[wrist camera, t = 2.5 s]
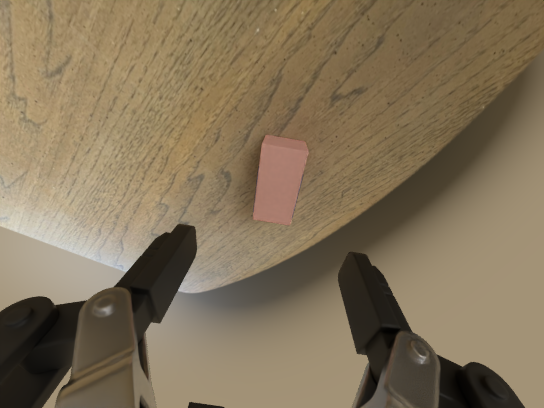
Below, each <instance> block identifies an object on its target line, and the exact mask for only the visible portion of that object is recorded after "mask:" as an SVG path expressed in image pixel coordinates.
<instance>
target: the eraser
mask: <svg viewBox="0 0 544 408" xmlns="http://www.w3.org/2000/svg"><path fill="white" fill-rule="evenodd" d="M308 153H309V151H308V148H307V145H306V142H305V141H300V140H294V139H289V138H283V137H277V136H271V135H266V136H265V138H264V140H263V142H262V146H261V154H260V162H259V167H258V174H257V182H256V191H255V199H254V208H253V220H259V221H265V222H271V223H277V224H283V225H290V224H291V220H292V217H293V214H294V210H295V206H296V202H297V198H298V194H299V190H300V186H301V182H302V178H303V172H304V169H305V165H306V161H307V157H308Z"/></svg>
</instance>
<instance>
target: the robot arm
mask: <svg viewBox="0 0 544 408" xmlns="http://www.w3.org/2000/svg"><path fill="white" fill-rule="evenodd" d="M196 252H197V242H196V229H195V227H194V226H190V225H184V224H178V225H177V226H176V227H175V228H174V230H173V231H172V232H171V233H167V232H165V233H164V234H162V235H161V236H159V237H157V238H156V239H155V240H154V241H153V242H152V243H151V244H150V246H149V247H148V249H146V250H145V251H144V253H143V254H142V256H140V257H139V258H138V260H137V261H136V262H135V263H134V264H133V265H132V267H131V268H130V269H129V270H128V271H127V273H126V274H125V275H124V276H123V277H122V278H121V280H120V281H119V282H118V283H117V284H116V285H115V286H114V287H113V288H108V289H105V290H102V291H100V292H98V293H97V294H95V295H93V296H92V297H91V298H90V299H88V300H86V301H80V302H73V303H67V304H60V305H54V303H52V301H51V300H50V299H49V298H47V297H40V296H38V297H32V298H27V299H24V300H21V301H19V302H17V303H14V304H12V305H10V306H9V307H7V308H5V309H4V310H2V311H1V312H0V408H42V407H43V406H44V404H45V403H46V401H47V400H48V399H49V397H50V396H51V394H52V393H53V392H54V390H55V389H56V387H57V386H58V385H59V383H60V382H61V380H62V379H63V377H64V376H65V375H66V373H67V372H68V370H69V369H70V368H71V366H72V369H71V376H70V380H69V382H68V384H66V385H64V386H63V387H62V388H61V390H60V392H59V394H58V396H57V400H56V404H55V408H156V401H155V396H154V392H153V388H152V382H151V375H150V367H149V358H148V350H147V342H146V333H145V332H146V330H147V328H148V326H149V325H150V323H151V322H153V323H160V322H161V321H162V319H163V317H164V315H165V313H166V311H167V310H168V308H169V306H170V304H171V302H172V300H173V298H174V296H175V294H176V293H177V291H178V289H179V287H180V285H181V283H182V281H183V279H184V278H185V276H186V274H187V272H188V270H189V268H190V266H191V264H192V263H193V261H194V259H195V256H196ZM338 282H339V287H340V290H341V294H342V298H343V301H344V306H345V309H346V314H347V317H348V321H349V325H350V329H351V333H352V336H353V340H354V344H355V348H356V352H357V354H362V355H367V357H368V360H369V363H368V364H367V366H366V368H365V371H364V374H363V377H362V380H361V383H360V385H359V388H358V392H357V394H356V397H355V400H354V403H353V406H352V408H525V407H524V406H523V404H522V403H521V401H520V400H519V399H518V397H517V396H516V394H515V393H514V391H513V390H512V389H511V388H510V386H509V385H508V384H507V383H506V382H505V381H504V380H503V379H502V378H501V377H500V376H499V375H498V374H496V373H495V372H494V371H492V370H491V369H489V368H488V367H486V366H484V365H482V364H480V363H476V362H470V363H468V364H467V365H465V366H463V367H462V366H460V365H458V364H456V363H454V362H451V361H449V360H447V359H445V358H443V357H441V356H439V355H437V354H436V353H435V352H434V350H433V349H432V348H431V346H430V345H429V344H428V343H427V342H426V341H425V340H424V339H423V338H421V337H420V336H418V335H417V334H415V333H413V332H412V330H411V329H410V327H409V325H408V323H407V321H406V319H405V317H404V315H403V313H402V311H401V309H400V307H399V305H398V303H397V301H396V299H395V297H394V296H393V293H392V291H391V289H390V287H388V283H387V281H386V279H385V278H384V275H383V274H382V273H381V272H380V271H379V270H378V269H377V268H376V267H375V266H372V265H371V263H370V261H369V259H368V257H367V255H366V254H362V253H355V252H349V253H348V255H347V256H346V259H345V260H344V262H343V264H342V267H341V268H340V270H339V274H338ZM188 408H224V407H221V406H214V405H207V404H200V403H193V402H189V406H188Z"/></svg>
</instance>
